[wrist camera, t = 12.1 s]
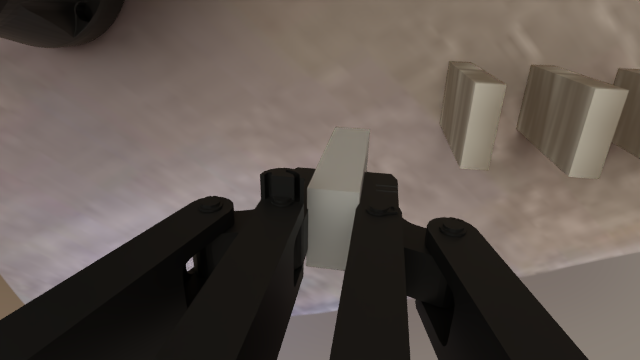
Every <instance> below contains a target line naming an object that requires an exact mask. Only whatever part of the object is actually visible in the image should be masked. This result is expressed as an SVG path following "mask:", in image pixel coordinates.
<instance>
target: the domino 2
mask: <svg viewBox="0 0 640 360" xmlns="http://www.w3.org/2000/svg"><path fill="white" fill-rule="evenodd" d="M628 92H629V90H626V89H623V88H620V87H617V86H614V85H611V84H608V83H605V82H602V81H599V80H596V79H593V78H590V77H587V76H584V75H581V74H578V73H575V72H572V71H568V70H565V69H562V68H559V67H556V66H549V65H531V68H530V72H529V76H528V81H527V85H526V89H525V93H524V98H523V102H522V106H521V110H520V115H519V119H518V123H517V127H516V129H517V130H518V131H519V132H520V133H521V134H522V135H523V136H525V137H526V138H527V139H528V140H529V141H530V142H531V143H532V144H533V145H534V146H535V147H537V148H538V149H539V150H540V151H541V152H542V153H543V154H544V155H545V156H546V157H547V158H549V159H550V160H551V161H552V162H553V163H554V164H555V165H556V166H557V167H558V168H559V169H561V170H562V171H563V172H564V173H565V174H566V175H567V176H568V177H578V178H591V179H599V177H600V174H601V171H602V168H603V165H604V162H605V159H606V156H607V153H608V151H609V148H610V145H611V142H612V139H613V136H614V133H615V130H616V127H617V124H618V121H619V118H620V116H621V113H622V110H623V107H624V104H625V101H626V98H627V95H628Z"/></svg>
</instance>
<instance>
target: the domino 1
mask: <svg viewBox="0 0 640 360" xmlns="http://www.w3.org/2000/svg"><path fill="white" fill-rule="evenodd" d="M506 86H507V85H506V84H505V83H503V82H502V81H500V80H498V79H497V78H495V77H494V76H492V75H490V74H489V73H487V72H486V71H484V70H482V69H481V68H479V67H478V66H476V65H474V64H473V63H471V62H453V61H449V66H448V73H447V80H446V86H445V93H444V99H443V106H442V112H441V119H440V126H441V128H442V130H443V132H444V134H445V137H446V139H447V141H448V143H449V145H450V148H451V150H452V152H453V154H454V156H455V158H456V161H457V163H458V165H459V167H460V169H473V170H486V171H488V169H489V165H490V160H491V155H492V151H493V146H494V141H495V137H496V132H497V127H498V123H499V118H500V114H501V109H502V104H503V100H504V95H505V90H506Z"/></svg>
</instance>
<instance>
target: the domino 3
mask: <svg viewBox="0 0 640 360" xmlns="http://www.w3.org/2000/svg"><path fill="white" fill-rule="evenodd" d="M614 86H617V87H620V88H623V89H626V90H629V92H628V95H627V98H626V101H625V104H624V107H623V110H622V113H621V116H620V118H619V121H618V124H617V127H616V130H615V133H614V136H613V139H612V143H614V144H615V145H617V146H619V147H621V148H622V149H624V150H626V151H627V152H629V153H631V154H632V155H634V156H636V157H638V158H639V159H640V69H621V68H619V69H618V72H617V75H616V78H615V82H614Z"/></svg>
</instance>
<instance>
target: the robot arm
mask: <svg viewBox="0 0 640 360" xmlns="http://www.w3.org/2000/svg"><path fill="white" fill-rule="evenodd" d="M123 1H124V0H0V37H1V38H5V39H8V40H12V41H15V42H19V43H22V44H26V45H30V46H35V47H44V48H57V47H67V46H76V45H81V44H84V43H87V42H90V41H92V40H94V39H96V38H97V37H99V36H100V35H101V34H103V33H104V32H105V31H106V30H107V29H108V28H109V27H110V26H111V24H112V23H113V22H114V20H115V19H116V17H117V15H118V13H119V11H120V9H121V7H122V4H123ZM369 135H370V129H358V128H343V127H335V129H334V131H333V134H332V136H331V138H330V140H329V142H328V144H327V146H326V149H325V151H324V153H323V155H322V157H321V159H320V162H319V164H318V166H317V168H316V169H311V168H299V167H298V168H296V169H290V168H276V169H270V170H267V171H264V172H263V173H261V174H260V183H261V201H260V202H259V204H258V205H257V207H256V208H255V209H253V210H244V211H234V206H233V202H232V201H231V200H229V199H227V198H224V197H218V196H208V197H205V198H202V199H198V200H196V201H194V202H192V203H190V204H188V205H187V206H185V207H184V208H182V209H180V210H179V211H177V212H175V213H174V214H172V215H171V216H169V217H167V218H166V219H164V220H162V221H161V222H159V223H158V224H156V225H154V226H153V227H151V228H149V229H148V230H146V231H145V232H143V233H141V234H140V235H138V236H136V237H135V238H133V239H132V240H130V241H128V242H127V243H125V244H123V245H122V246H120V247H118V248H117V249H115V250H114V251H112V252H110V253H109V254H107V255H105V256H104V257H102V258H101V259H99V260H97V261H96V262H94V263H92V264H91V265H89V266H88V267H86V268H84V269H83V270H81V271H79V272H78V273H76V274H75V275H73V276H71V277H70V278H68V279H66V280H65V281H63V282H62V283H60V284H58V285H57V286H55V287H53V288H52V289H50V290H48V291H47V292H45V293H44V294H42V295H40V296H39V297H37V298H35V299H34V300H32V301H31V302H29V303H27V304H26V305H24V306H23V307H21V308H19V309H18V310H16V311H14V312H13V313H11V314H10V315H8V316H6V317H5V318H3V319H1V320H0V360H277V357H278V354H279V351H280V348H281V345H282V341H283V338H284V335H285V332H286V329H287V326H288V322H289V319H290V316H291V313H292V310H293V307H294V304H295V301H296V297H297V294H298V291H299V288H300V285H301V282H302V279H303V264H304V259H305V256H306V266H309V267H318V268H326V269H334V270H343V271H345V274H344V280H343V285H342V291H341V297H340V303H339V308H338V314H337V320H336V326H335V331H334V337H333V343H332V348H331V354H330V360H410V347H409V329H408V312H407V296H409V297H412V298H414V299H416V301H415V303H416V309H417V311H418V313H419V315H420V318H421V320H422V322H423V325H424V327H425V330H426V332H427V334H428V337H429V339H430V341H431V343H432V346H433V348H434V351H435V353H436V355H437V358H438V360H588V358H587V357H586V356H585V355H584V354H583V353H582V351H581V350H580V349H579V348H578V347H577V346H576V345H575V343H574V342H573V341H572V340H571V339H570V337H569V336H568V335H567V334H566V333H565V332H564V331H563V329H562V328H561V327H560V326H559V325H558V323H557V322H556V321H555V320H554V319H553V318H552V316H551V315H550V314H549V313H548V312H547V311H546V309H545V308H544V307H543V306H542V305H541V304H540V303H539V302H538V300H537V299H536V298H535V297H534V296H533V295H532V293H531V292H530V291H529V290H528V288H527V287H526V286H525V285H524V284H523V283H522V282H521V280H520V279H519V278H518V277H517V276H516V274H515V273H514V272H513V271H512V270H511V269H510V267H509V266H508V265H507V264H506V263H505V262H504V260H503V259H502V258H501V257H500V256H499V255H498V253H497V252H496V251H495V250H494V249H493V248H492V246H491V245H490V244H489V243H488V242H487V241H486V239H485V238H484V237H483V236H482V235H481V234H480V233H479V231H478V230H477V229H476V228H475V227H473V226H472V225H471V224H469V223H467V222H465V221H463V220H461V219H456V218H452V217H450V218H445V217H443V218H435V219H433V220H431V221H429V223H428V225H427V228H423V227H420V226H417V225H414V224H411V223H409V222H407V221H406V220H405V219H403V218H402V212H401V210H400V208H399V202H398V183H397V179H396V178H395V177H394V176H393V175H392V174H384V173H371V172H367V161H368V148H369ZM191 257H193V262H194V267H193V268H192V269H191V270H189V271H187V270H186V263H187V262H188V261H189V259H190V258H191Z"/></svg>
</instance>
